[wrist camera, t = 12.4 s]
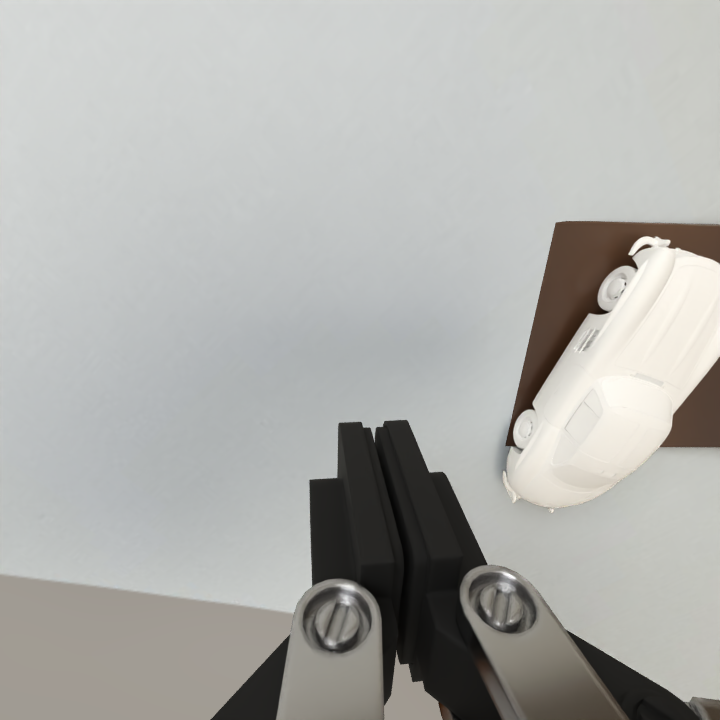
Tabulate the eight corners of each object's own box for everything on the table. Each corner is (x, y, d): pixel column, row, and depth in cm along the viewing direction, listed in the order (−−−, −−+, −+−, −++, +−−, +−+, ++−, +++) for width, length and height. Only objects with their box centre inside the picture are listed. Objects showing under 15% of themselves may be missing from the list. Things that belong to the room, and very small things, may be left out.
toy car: (731, 271, 16) (823, 299, 13) (562, 498, 21) (601, 557, 18) (628, 226, 15) (701, 243, 12) (475, 473, 20) (501, 532, 17)
